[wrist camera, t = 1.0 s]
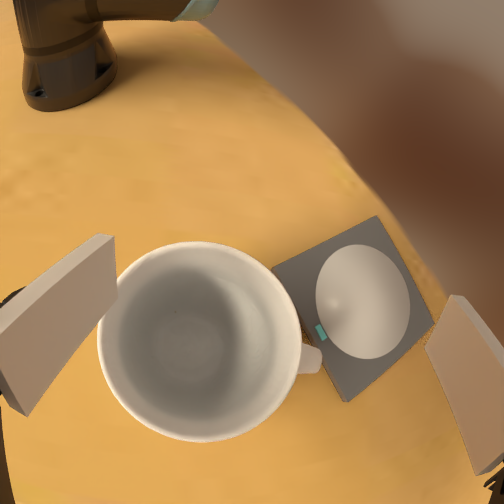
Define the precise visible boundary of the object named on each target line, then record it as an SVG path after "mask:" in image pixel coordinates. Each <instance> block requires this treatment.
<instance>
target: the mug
mask: <svg viewBox="0 0 504 504" xmlns="http://www.w3.org/2000/svg"><path fill="white" fill-rule="evenodd" d="M117 289H118V299H117V300H116V301H115V303H114V304H113V305H112V306H111V307H110V309H109V310H108V311H107V312H106V314H105V315H104V316H103V317H102V318H101V320H100V321H99V323H98V330H97V347H98V354H99V360H100V364H101V368H102V371H103V374H104V377H105V379H106V381H107V383H108V385H109V387H110V389H111V391H112V392H113V394H114V396H115V397H116V398H117V400H118V401H119V402H120V404H121V405H122V406H123V407H124V408H125V409H126V410H127V411H128V412H129V413H130V414H131V415H132V416H133V417H134V418H135V419H137V420H138V421H139V422H141V423H142V424H144V425H145V426H147V427H148V428H150V429H152V430H154V431H156V432H158V433H160V434H163V435H165V436H168V437H171V438H174V439H178V440H183V441H190V442H214V441H222V440H226V439H230V438H233V437H236V436H239V435H241V434H243V433H245V432H247V431H250V430H251V429H253V428H255V427H256V426H258V425H259V424H260V423H262V422H263V421H265V420H266V419H267V418H268V417H269V416H270V415H271V414H272V413H273V412H274V411H275V410H276V409H277V408H278V407H279V406H280V405H281V404H282V402H283V401H284V399H285V398H286V396H287V395H288V393H289V392H290V390H291V388H292V386H293V384H294V381H295V379H296V376H297V374H306V373H317V372H318V371H319V370H320V367H321V363H322V353H321V351H320V350H319V349H318V348H315V347H313V346H310V345H307V344H305V343H302V334H301V328H300V322H299V318H298V315H297V312H296V309H295V306H294V304H293V302H292V300H291V298H290V296H289V294H288V293H287V291H286V290H285V288H284V287H283V285H282V284H281V282H280V281H279V280H278V279H277V278H276V276H275V275H274V274H273V273H272V272H271V271H270V270H269V269H268V268H266V267H265V266H264V265H263V264H261V263H260V262H259V261H257V260H256V259H254V258H253V257H251V256H250V255H248V254H246V253H244V252H242V251H240V250H237V249H235V248H232V247H229V246H226V245H223V244H219V243H213V242H204V241H190V242H180V243H174V244H170V245H166V246H163V247H160V248H158V249H155V250H153V251H151V252H149V253H147V254H145V255H143V256H142V257H140V258H139V259H138V260H136V261H135V262H133V263H132V264H131V265H130V266H129V267H128V268H127V269H126V270H125V271H124V272H123V273H122V274H121V275H120V276H119V277H118V279H117Z"/></svg>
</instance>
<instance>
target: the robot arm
mask: <svg viewBox="0 0 504 504" xmlns="http://www.w3.org/2000/svg"><path fill="white" fill-rule="evenodd" d="M218 1H219V0H13V4H14V10H15V15H16V20H17V25H18V30H19V34H20V39H21V43H22V46H23V51H24V65H23V78H22V89H23V93H24V96H25V99H26V102H27V103H28V105H29V106H30V107H32V108H34V109H36V110H40V111H58V110H63V109H67V108H70V107H73V106H76V105H78V104H81V103H83V102H85V101H87V100H89V99H91V98H92V97H94V96H96V95H97V94H99V93H100V92H101V91H102V90H104V89H105V88H106V87H107V86H108V85H109V84H110V83H111V81H112V80H113V79H114V77H115V75H116V72H117V57H116V53H115V50H114V48H113V46H112V44H111V42H110V40H109V38H108V36H107V34H106V32H105V30H104V27H103V21H116V20H163V21H170V22H175V21H178V20H183V21H198V20H202V19H205V18H207V17H208V16H209V15H210V14H211V13H212V12H213V10H214V8H215V7H216V5H217V3H218ZM117 299H118V289H117V277H116V262H115V242H114V236H111V235H106V234H101V233H97V234H96V235H94V236H93V237H91V238H90V239H88V240H87V241H86V242H84V243H83V244H81V245H80V246H79V247H77V248H76V249H74V250H73V251H72V252H70V253H69V254H68V255H66V256H65V257H64V258H62V259H61V260H60V261H58V262H57V263H56V264H54V265H53V266H52V267H50V268H49V269H48V270H47V271H45V272H44V273H43V274H41V275H40V276H39V277H38V278H36V279H35V280H34V281H33V282H31V283H30V284H29V285H28V286H25V287H23V288H21V289H19V290H17V291H14V292H12V293H11V294H10V295H9V296H8V297H6V298H5V299H4V300H3V302H2V303H0V395H1V394H3V396H4V398H5V399H6V401H7V403H8V404H9V406H10V407H12V408H13V409H15V410H16V411H18V412H19V413H21V414H23V415H24V416H26V417H28V416H29V414H30V413H31V411H32V410H33V408H34V407H35V406H36V404H37V403H38V401H39V400H40V398H41V397H42V396H43V394H44V393H45V391H46V390H47V389H48V387H49V386H50V384H51V383H52V382H53V380H54V379H55V378H56V376H57V375H58V374H59V372H60V371H61V370H62V368H63V367H64V366H65V364H66V363H67V362H68V360H69V359H70V358H71V356H72V355H73V354H74V352H75V351H76V350H77V349H78V347H79V346H80V345H81V343H82V342H83V341H84V340H85V338H86V337H87V336H88V335H89V333H90V332H91V331H92V330H93V328H94V327H95V326H96V325H97V323H98V322H99V321H100V320H101V318H102V317H103V316H104V315H105V314H106V312H107V311H108V310H109V309H110V307H111V306H112V305H113V304H114V303H115V301H116V300H117ZM424 349H425V351H426V353H427V355H428V357H429V360H430V362H431V364H432V366H433V368H434V370H435V372H436V375H437V377H438V379H439V381H440V384H441V386H442V388H443V390H444V393H445V395H446V397H447V400H448V402H449V405H450V407H451V410H452V412H453V414H454V417H455V420H456V422H457V425H458V427H459V430H460V433H461V435H462V438H463V441H464V444H465V446H466V449H467V452H468V455H469V458H470V461H471V464H472V467H473V470H474V473H475V476H478V475H481V474H484V473H488V472H490V471H492V470H493V469H494V468H495V467H496V466H497V465H499V464H500V463H501V462H502V461H503V463H504V348H503V347H502V346H501V344H500V343H499V341H498V340H497V338H496V337H495V336H494V334H493V333H492V332H491V330H490V329H489V328H488V326H487V325H486V324H485V322H484V321H483V320H482V318H481V317H480V316H479V314H478V313H477V312H476V311H475V309H474V308H473V307H472V306H471V304H470V303H469V302H468V301H467V300H466V298H465V297H464V296H459V295H452V294H451V295H450V297H449V299H448V301H447V303H446V306H445V308H444V310H443V312H442V314H441V316H440V318H439V320H438V322H437V324H436V326H435V328H434V330H433V332H432V334H431V336H430V338H429V340H428V341H427V343H426V345H425V347H424ZM493 481H496V482H495V483H494V484H492V485H491V486H490V487H489V488H488V489H490V490H492V491H493V492H492V495H491V498H490V501H489V504H504V467H503V468H502V469H501V470H500V471H498V472H497V473H496V474H495V475H494V476H492V477H491V478H490V479H489V480H487V481H486V482H485V484H484V486H483V487H486V486H488V485H489V484H490V483H492V482H493ZM0 504H15V501H14V497H13V492H12V488H11V483H10V478H9V473H8V468H7V462H6V455H5V448H4V440H3V431H2V419H1V407H0Z"/></svg>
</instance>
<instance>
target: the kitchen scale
mask: <svg viewBox="0 0 504 504" xmlns="http://www.w3.org/2000/svg"><path fill="white" fill-rule="evenodd" d="M271 271H272V273H273V274H274V275H275V276H276V278H277V279H278V280H279V281H280V282H281V284H282V285H283V287H284V288H285V290H286V291H287V293H288V294H289V296H290V298H291V300H292V302H293V304H294V306H295V309H296V312H297V315H298V318H299V322H300V324H301V326H302V328H303V329H304V331H305V333H306V335H307V337H308V338H309V340H310V342H311V344H312V346H313V347H315V348H318V349H319V350H320V351H321V353H322V364H323V366H324V368H325V370H326V371H327V373H328V375H329V377H330V379H331V381H332V382H333V384H334V386H335V388H336V390H337V392H338V393H339V395H340V397H341V399H342V401H343V402H349V401H350V400H351V399H353V398H354V397H355V396H356V395H358V394H359V393H360V392H361V391H363V390H364V389H365V388H366V387H367V386H369V385H370V384H371V383H372V382H373V381H375V380H376V379H377V378H378V377H379V376H380V375H382V374H383V373H384V372H385V371H386V370H387V369H388V368H389V367H391V366H392V365H393V364H394V363H395V362H396V361H397V360H398V359H399V358H400V357H401V356H402V355H404V354H405V353H406V352H407V351H408V350H409V349H410V348H411V347H412V346H413V345H414V344H415V343H416V342H417V341H418V340H419V339H420V338H421V337H422V336H423V335H424V334H425V333H426V332H427V331H428V330H429V329H430V328H431V327H432V326H433V324H434V321H433V319H432V317H431V315H430V313H429V311H428V309H427V307H426V304H425V302H424V300H423V298H422V296H421V294H420V292H419V290H418V288H417V286H416V284H415V282H414V280H413V279H412V277H411V275H410V273H409V271H408V269H407V267H406V265H405V264H404V262H403V260H402V258H401V256H400V254H399V253H398V251H397V249H396V247H395V246H394V244H393V242H392V240H391V239H390V237H389V235H388V233H387V232H386V230H385V228H384V227H383V225H382V223H381V222H380V220H379V218H378V217H377V215H376V216H374V217H372V218H370V219H368V220H366V221H364V222H362V223H360V224H358V225H356V226H354V227H352V228H350V229H348V230H347V231H345V232H343V233H341V234H339V235H337V236H335V237H333V238H331V239H329V240H327V241H325V242H323V243H321V244H319V245H317V246H315V247H313V248H311V249H309V250H307V251H305V252H303V253H301V254H299V255H297V256H295V257H293V258H291V259H289V260H287V261H285V262H283V263H281V264H279V265H277V266H275V267H273V268H272V269H271Z"/></svg>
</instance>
